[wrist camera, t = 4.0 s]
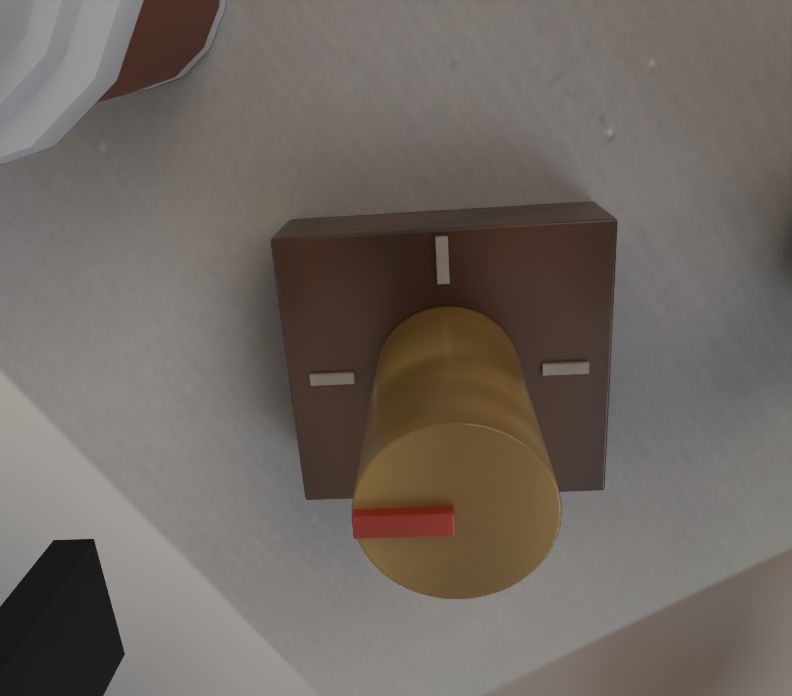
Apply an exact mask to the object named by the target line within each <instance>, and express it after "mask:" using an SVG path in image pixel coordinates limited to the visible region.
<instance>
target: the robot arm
mask: <svg viewBox="0 0 792 696" xmlns="http://www.w3.org/2000/svg"><path fill="white" fill-rule="evenodd" d="M124 654H125V653H124V650H123V646H122V642H121V638H120V635H119V631H118V627H117V623H116V620H115V616H114V612H113V609H112V605H111V601H110V597H109V594H108V590H107V586H106V583H105V579H104V575H103V572H102V568H101V564H100V560H99V557H98V553H97V549H96V546H95V542H94V539H78V540H54V541H53V542H52V543H51V544H50V546H49V547H48V548H47V549H46V551H45V552H44V553H43V555H42V556H41V557H40V558H39V559H38V560H37V562H36V563H35V564H34V565H33V567H32V568H31V569H30V570H29V572H28V573H27V574H26V576H25V577H24V578H23V579H22V581H21V582H20V583H19V584H18V585H17V587H16V588H15V589H14V590H13V592H12V593H11V594H10V596H9V597H8V598H7V599H6V600H5V602H4V603H3V604H2V605H1V607H0V696H103V695H104V693H105V691H106V689H107V687H108V685H109V683H110V681H111V679H112V678H113V676H114V674H115V672H116V670H117V668H118V666H119V664H120V662H121V660H122V658H123V656H124Z"/></svg>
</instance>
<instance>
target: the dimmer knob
mask: <svg viewBox="0 0 792 696" xmlns="http://www.w3.org/2000/svg"><path fill="white" fill-rule="evenodd" d="M561 515H562V506H561V497H560V492H559V488H558V485H557V482H556V478H555V475H554V472H553V469H552V465H551V462H550V459H549V456H548V453H547V449H546V446H545V443H544V440H543V437H542V433H541V430H540V427H539V424H538V421H537V417H536V414H535V411H534V408H533V405H532V401H531V398H530V395H529V392H528V388H527V385H526V382H525V379H524V376H523V372H522V369H521V366H520V363H519V360H518V356H517V353H516V351H515V348H514V346H513V344H512V342H511V340H510V338H509V337H508V336H507V334H506V333H505V332H504V330H503V329H502V328H501V327H500V326H499V325H498V324H496V323H495V322H494V321H492V320H491V319H490V318H488V317H486V316H484V315H483V314H480V313H478V312H476V311H473V310H469V309H466V308H460V307H436V308H431V309H427V310H424V311H421V312H419V313H416V314H414V315H413V316H411V317H409V318H407V319H406V320H404V321H403V322H402V323H400V324H399V325H398V326H397V327H396V328H395V329H394V330H393V331H392V332H391V334H390V335H389V336H388V338H387V339H386V341H385V342H384V344H383V346H382V349H381V351H380V354H379V358H378V362H377V367H376V373H375V378H374V384H373V389H372V395H371V400H370V406H369V411H368V417H367V422H366V428H365V434H364V439H363V445H362V450H361V456H360V461H359V467H358V472H357V478H356V483H355V489H354V494H353V502H352V525H353V535H354V539H358V541H359V543H360V545H361V547H362V549H363V551H364V552H365V554H366V555H367V556H368V558H369V559H370V561H371V562H372V563H373V564H374V565H375V566H376V567H377V568H378V569H379V570H380V571H381V572H382V573H383V574H385V575H386V576H387V577H388V578H390V579H391V580H393V581H394V582H396V583H398V584H399V585H401V586H403V587H405V588H407V589H409V590H412V591H415V592H418V593H420V594H424V595H428V596H432V597H438V598H445V599H468V598H476V597H482V596H486V595H490V594H493V593H496V592H499V591H502V590H504V589H506V588H509V587H511V586H512V585H514V584H516V583H518V582H520V581H521V580H522V579H524V578H525V577H527V576H528V575H529V574H531V573H532V572H533V571H534V570H535V569H536V568H537V567H538V566H539V565H540V564H541V562H542V561H543V560H544V559H545V558H546V556H547V555H548V553H549V551H550V550H551V548H552V547H553V544H554V542H555V540H556V537H557V535H558V531H559V528H560V524H561Z"/></svg>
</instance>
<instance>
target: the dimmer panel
mask: <svg viewBox="0 0 792 696" xmlns="http://www.w3.org/2000/svg"><path fill="white" fill-rule="evenodd" d="M616 240H617V219H616V218H614V217H613V216H612V215H611V214H609V213H608V212H607V211H605V210H604V209H603V208H602V207H600V206H599V205H598V204H596V203H595V202H593V201H592V202H575V203H558V204H542V205H525V206H508V207H492V208H475V209H458V210H441V211H425V212H408V213H391V214H375V215H358V216H341V217H325V218H308V219H291V220H289V221H288V222H287V223H286V224H285V225H284V226H283V227H282V229H281V230H280V231H279V232H278V233H277V234H276V235H275V236H274V237H273V238H272V239H271V248H272V255H273V262H274V270H275V277H276V285H277V292H278V299H279V307H280V314H281V322H282V329H283V336H284V344H285V351H286V358H287V366H288V373H289V381H290V388H291V395H292V403H293V410H294V417H295V425H296V432H297V440H298V447H299V454H300V462H301V469H302V476H303V484H304V491H305V498H306V499H307V500H315V499H346V498H353V494H354V489H355V483H356V478H357V472H358V467H359V461H360V456H361V450H362V445H363V439H364V434H365V428H366V422H367V417H368V411H369V406H370V400H371V395H372V389H373V384H374V378H375V373H376V367H377V362H378V358H379V354H380V351H381V349H382V346H383V344H384V342H385V341H386V339H387V338H388V336H389V335H390V334H391V332H392V331H393V330H394V329H395V328H396V327H397V326H398V325H399V324H400V323H402V322H403V321H404V320H406V319H407V318H409V317H411V316H413V315H414V314H416V313H419V312H421V311H424V310H427V309H431V308H436V307H460V308H466V309H469V310H473V311H476V312H478V313H480V314H483V315H484V316H486V317H488V318H490V319H491V320H492V321H494V322H495V323H496V324H498V325H499V326H500V327H501V328H502V329H503V330H504V332H505V333H506V334H507V336H508V337H509V338H510V340H511V342H512V344H513V346H514V348H515V351H516V353H517V356H518V360H519V363H520V366H521V369H522V372H523V376H524V379H525V382H526V385H527V388H528V392H529V395H530V398H531V401H532V405H533V408H534V411H535V414H536V417H537V421H538V424H539V427H540V430H541V433H542V437H543V440H544V443H545V446H546V449H547V453H548V456H549V459H550V462H551V465H552V469H553V472H554V475H555V478H556V482H557V485H558V488H559V492H561V491H592V490H604V488H605V468H606V447H607V427H608V406H609V385H610V365H611V344H612V323H613V303H614V282H615V261H616Z"/></svg>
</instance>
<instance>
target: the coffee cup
mask: <svg viewBox="0 0 792 696" xmlns="http://www.w3.org/2000/svg"><path fill="white" fill-rule="evenodd" d="M224 10H225V0H0V165H2V164H5V163H8V162H10V161H13V160H16V159H19V158H22V157H24V156H27V155H30V154H33V153H36V152H39V151H41V150H44V149H47V148H50V147H53V146H55V145H56V144H57V143H58V142H59V141H60V140H61V139H62V138H63V137H64V136H65V135H66V133H67V132H68V131H69V130H70V129H71V128H72V127H73V126H74V125H75V124H76V123H77V122H78V121H79V120H80V119H81V118H82V117H83V116H84V115H85V113H86V112H87V111H88V110H89V109H90V108H91V107H92V106H93V105H94V104H95V103H97V102H100V101H104V100H107V99H111V98H114V97H118V96H121V95H124V94H128V93H131V92H135V91H140V90H148V89H150V88H153V87H156V86H159V85H161V84H164V83H167V82H170V81H173V80H175V79H178V78H181V77H183V76H184V75H185V74H186V73H187V72H188V71H189V70H190V68H191V67H192V66H193V65H194V64H195V63H196V62H197V61H198V60H199V59H200V58H201V57H202V56H203V55H204V54H205V53H206V52H207V51H208V50H209V49H210V47H211V45H212V42H213V39H214V37H215V34H216V32H217V29H218V26H219V24H220V21H221V18H222V16H223V13H224Z"/></svg>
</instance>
